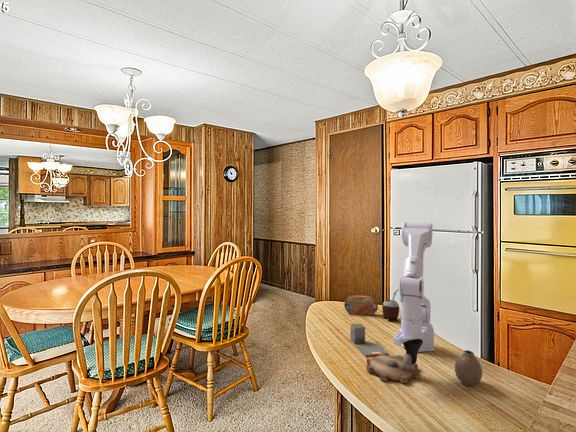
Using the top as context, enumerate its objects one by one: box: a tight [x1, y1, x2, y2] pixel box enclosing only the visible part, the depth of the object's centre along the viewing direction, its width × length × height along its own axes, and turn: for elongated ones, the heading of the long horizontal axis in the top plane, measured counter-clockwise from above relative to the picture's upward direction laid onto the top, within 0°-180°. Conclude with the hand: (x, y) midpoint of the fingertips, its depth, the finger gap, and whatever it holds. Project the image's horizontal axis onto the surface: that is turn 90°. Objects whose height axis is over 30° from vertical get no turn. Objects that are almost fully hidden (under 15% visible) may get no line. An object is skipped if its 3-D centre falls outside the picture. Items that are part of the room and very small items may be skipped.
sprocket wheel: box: [366, 353, 421, 384], centre depth 102 cm, size 16×16×5 cm
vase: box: [454, 349, 483, 387], centre depth 96 cm, size 7×7×9 cm
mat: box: [356, 343, 390, 358], centre depth 116 cm, size 8×8×1 cm
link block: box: [350, 323, 366, 345], centre depth 123 cm, size 4×4×6 cm
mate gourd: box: [382, 288, 400, 323], centre depth 147 cm, size 8×8×15 cm
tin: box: [343, 295, 379, 316], centre depth 155 cm, size 15×3×8 cm, turn 81°
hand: (411, 362), depth 100 cm, fingers closed, pressing on sprocket wheel
